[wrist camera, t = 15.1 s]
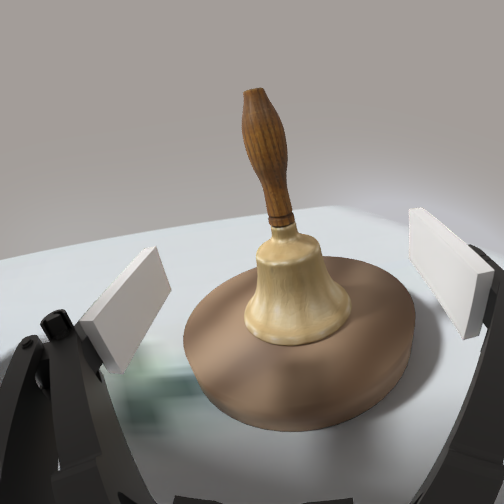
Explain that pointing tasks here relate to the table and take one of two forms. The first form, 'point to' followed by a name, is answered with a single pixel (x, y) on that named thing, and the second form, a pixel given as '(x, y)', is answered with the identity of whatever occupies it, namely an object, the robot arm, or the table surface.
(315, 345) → the walnut stand
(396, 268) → the table surface
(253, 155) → the hand bell
